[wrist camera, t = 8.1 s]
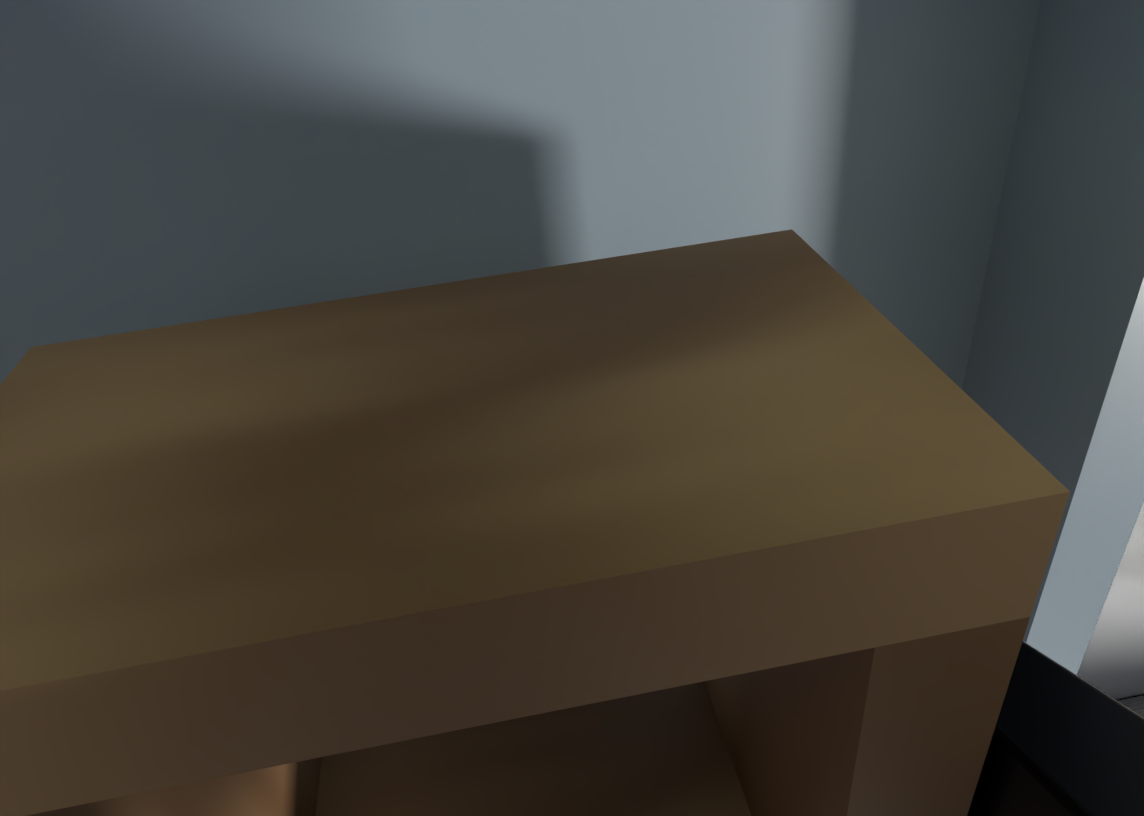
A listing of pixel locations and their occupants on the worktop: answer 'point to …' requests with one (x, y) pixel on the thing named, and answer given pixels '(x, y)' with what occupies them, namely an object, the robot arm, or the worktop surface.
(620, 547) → the open wooden box frame
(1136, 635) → the worktop surface
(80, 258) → the light blue frame
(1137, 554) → the worktop surface
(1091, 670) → the worktop surface
